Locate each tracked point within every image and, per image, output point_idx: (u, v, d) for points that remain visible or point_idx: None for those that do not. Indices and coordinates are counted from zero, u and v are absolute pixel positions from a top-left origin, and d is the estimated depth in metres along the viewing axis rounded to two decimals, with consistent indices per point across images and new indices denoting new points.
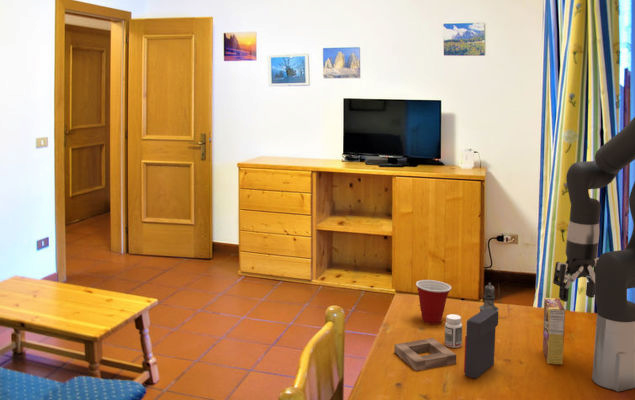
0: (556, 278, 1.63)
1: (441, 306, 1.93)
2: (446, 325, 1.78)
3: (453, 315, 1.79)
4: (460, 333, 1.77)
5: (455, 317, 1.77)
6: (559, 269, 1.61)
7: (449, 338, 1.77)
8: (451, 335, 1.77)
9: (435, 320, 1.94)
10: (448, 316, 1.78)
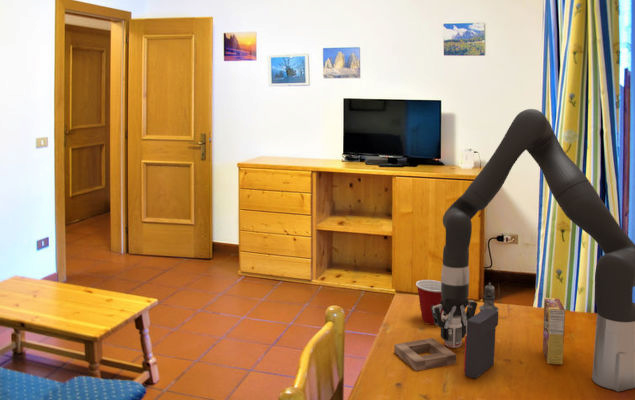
0: (435, 320, 1.77)
1: None
2: None
3: None
4: (460, 333, 1.77)
5: (455, 317, 1.77)
6: (434, 312, 1.75)
7: (449, 338, 1.77)
8: (450, 335, 1.77)
9: None
10: None
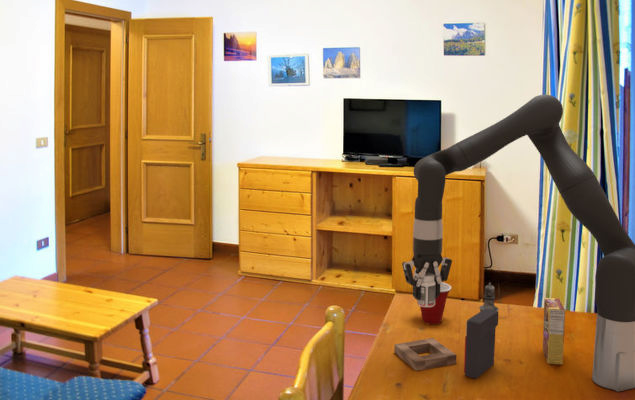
0: (407, 277, 1.66)
1: (441, 306, 1.93)
2: None
3: None
4: (434, 292, 1.66)
5: (428, 275, 1.66)
6: (405, 269, 1.64)
7: (421, 297, 1.66)
8: (423, 294, 1.66)
9: (435, 320, 1.94)
10: None
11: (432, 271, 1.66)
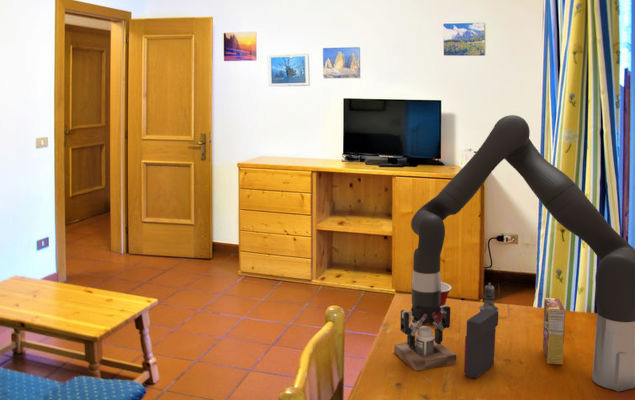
0: (402, 326, 1.68)
1: None
2: (417, 338, 1.69)
3: (424, 327, 1.70)
4: (432, 346, 1.69)
5: (426, 329, 1.69)
6: (403, 317, 1.66)
7: (420, 351, 1.69)
8: (421, 348, 1.68)
9: None
10: (419, 328, 1.70)
11: (432, 321, 1.69)
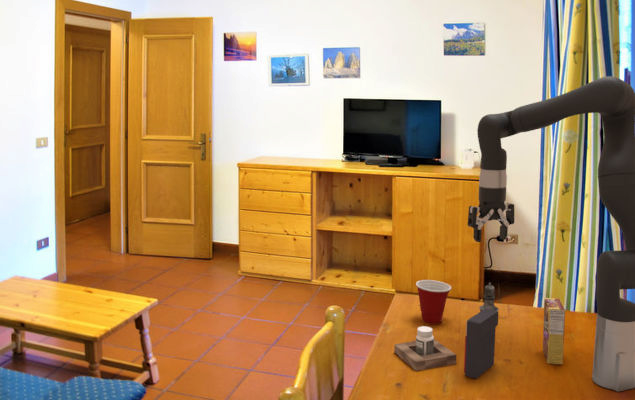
0: (469, 221, 1.80)
1: (441, 306, 1.93)
2: (417, 338, 1.69)
3: (424, 327, 1.70)
4: (432, 346, 1.69)
5: (426, 329, 1.69)
6: (471, 212, 1.79)
7: (420, 351, 1.69)
8: (421, 348, 1.68)
9: (435, 320, 1.94)
10: (419, 328, 1.70)
11: (498, 217, 1.81)
